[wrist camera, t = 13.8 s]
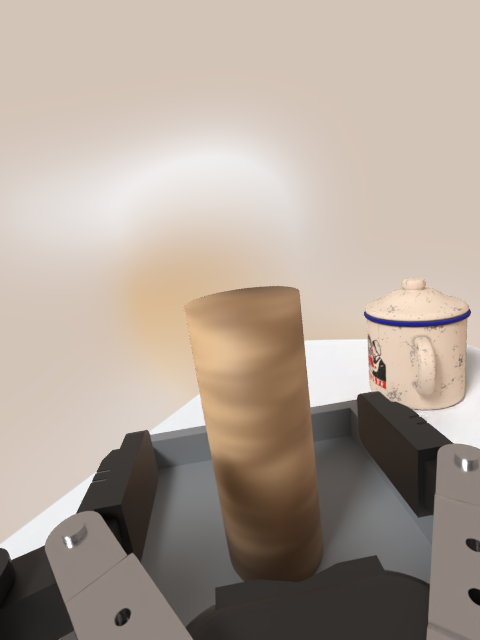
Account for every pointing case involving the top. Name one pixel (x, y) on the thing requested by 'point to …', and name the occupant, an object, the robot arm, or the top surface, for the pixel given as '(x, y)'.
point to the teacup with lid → (418, 346)
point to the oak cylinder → (259, 428)
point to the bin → (334, 501)
